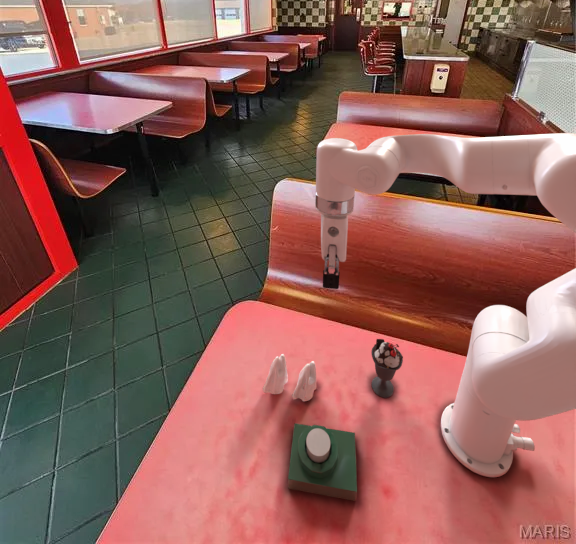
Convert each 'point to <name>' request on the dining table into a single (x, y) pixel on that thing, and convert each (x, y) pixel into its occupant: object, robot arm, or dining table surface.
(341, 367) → the dining table surface
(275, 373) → the shaker set
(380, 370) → the sundae
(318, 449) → the white button cap
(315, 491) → the button base
